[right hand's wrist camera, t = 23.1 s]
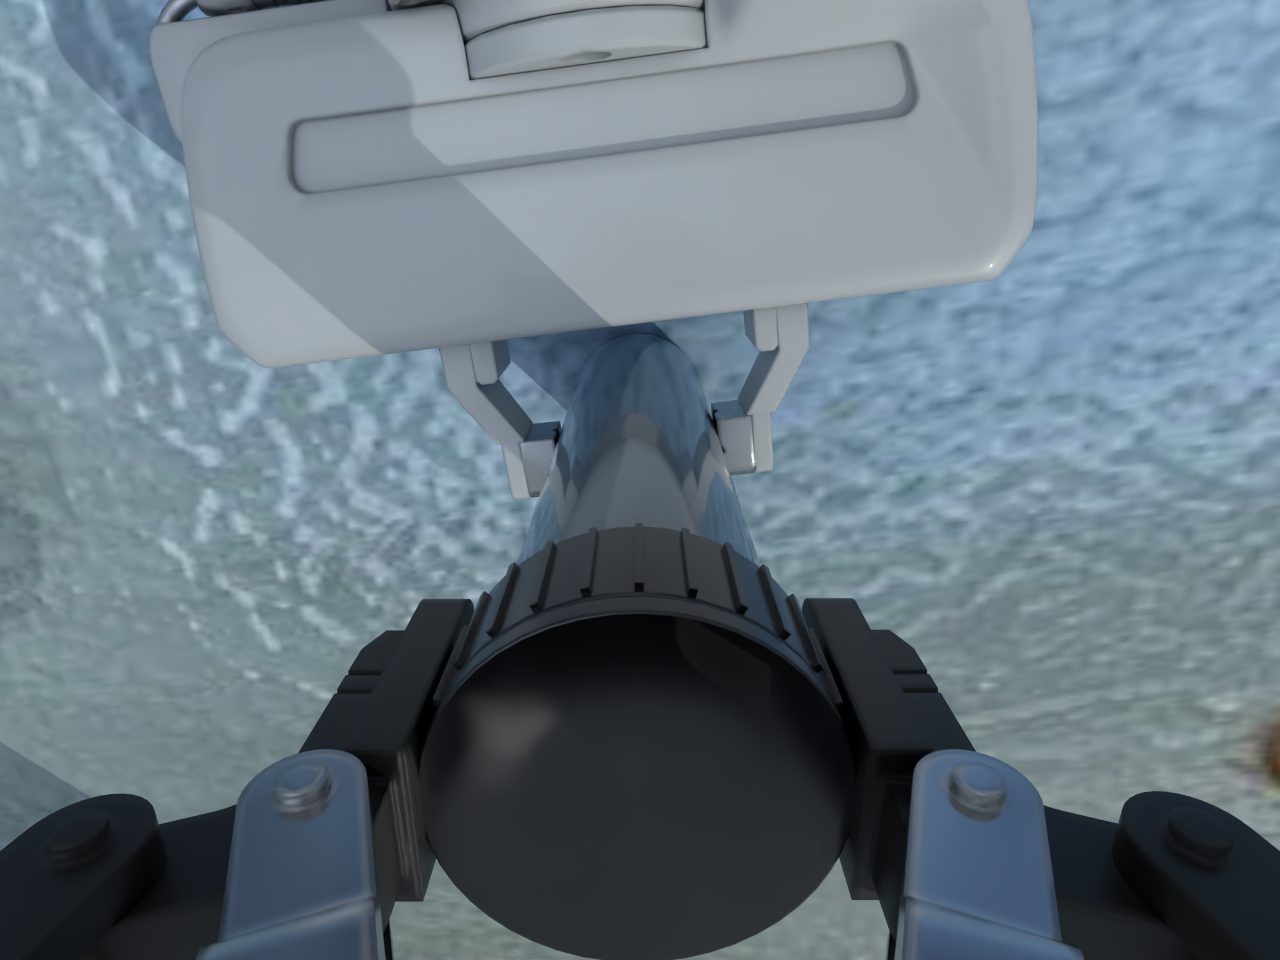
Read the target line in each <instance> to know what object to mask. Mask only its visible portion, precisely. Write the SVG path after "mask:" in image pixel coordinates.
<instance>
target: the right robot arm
mask: <svg viewBox="0 0 1280 960" xmlns="http://www.w3.org/2000/svg"><path fill="white" fill-rule="evenodd" d="M473 613H474V607H473V603H472V601H471V600H470V599H423V600H422V601H421V602H420V603H419V605H418V607H417V609H416V611H415V613H414V614H413V616H412V618H411V620H410V622H409V624H408V626H407V627H406V629H405V631H385V632H384V633H383V634H381V635H380V636H379V637H377V638H376V639H375V640H373V641H372V642H371V643H369V644H368V645H367V646H365V647H364V648H363V649H362V650H361V651H360V653H359V654H358V656H357V658H356V659H355V661H354V663H353V664H352V666H351V668H350V669H349V671H348V675H346V676H345V677H344V679H343V681H342V682H341V684H340V686H339V687H338V689H337V694H334V695H333V697H332V699H331V700H330V702H329V704H328V705H327V707H326V709H325V710H324V712H323V713H322V715H321V717H320V718H319V720H318V722H317V723H316V725H315V727H314V728H313V730H312V731H311V733H310V735H309V736H308V738H307V740H306V741H305V743H304V745H303V746H302V748H301V750H300V751H299V753H298V754H295V755H292V756H289V757H287V758H284V759H282V760H280V761H278V762H276V763H274V764H272V765H270V766H269V767H267V768H266V769H264V770H263V771H261V772H260V773H259V774H258V775H256V776H255V777H254V778H253V779H252V780H251V781H250V782H249V783H248V784H247V786H246V787H245V788H244V790H243V791H242V793H241V795H240V797H239V799H238V802H237V804H236V805H233V806H231V807H228V808H225V809H222V810H218V811H214V812H211V813H206V814H202V815H198V816H193V817H189V818H185V819H180V820H176V821H172V822H167V823H163V824H158V821H157V817H156V814H155V811H154V808H153V806H152V805H151V804H150V803H149V801H147V800H146V799H144V798H142V797H139V796H136V795H131V794H109V795H102V796H97V797H93V798H89V799H86V800H83V801H80V802H77V803H74V804H72V805H69V806H67V807H64V808H62V809H60V810H58V811H56V812H54V813H52V814H50V815H48V816H47V817H45V818H44V819H42V820H40V821H39V822H37V823H36V824H34V825H33V826H32V827H30V828H29V829H27V830H26V831H25V832H24V833H22V834H21V835H20V836H19V837H17V838H16V839H15V840H14V841H12V842H11V843H10V844H9V845H7V846H6V847H5V848H4V849H2V850H1V851H0V960H394V950H393V941H392V935H391V928H390V922H389V918H390V915H391V913H392V910H393V907H394V904H395V901H423V900H424V896H425V893H426V890H427V887H428V883H429V880H430V877H431V873H432V870H433V867H434V864H435V860H436V856H435V854H434V853H433V851H432V849H431V847H430V845H429V842H428V840H427V837H426V831H425V824H424V816H423V808H422V800H421V792H420V783H419V773H418V764H419V758H420V752H421V749H422V745H423V742H424V739H425V736H426V733H427V730H428V727H429V725H430V722H431V720H432V717H433V715H434V713H435V711H436V708H437V707H435V706H432V705H431V702H432V699H433V697H434V694H435V692H436V690H437V687H438V685H439V682H440V680H441V678H442V675H443V673H444V670H445V668H446V665H447V663H448V661H449V658H450V656H451V653H452V651H453V649H454V646H455V644H456V641H457V639H458V636H459V634H460V632H461V629H462V627H463V625H466V626H468V625H469V623H470V621H471V618H472V616H473ZM802 613H803V616H804V618H805V621H806V623H807V626H808V628H809V629H810V628H813V629H814V631H815V634H816V636H817V639H818V641H819V644H820V646H821V648H822V651H823V653H824V656H825V658H826V661H827V663H828V666H829V668H830V671H831V673H832V676H833V678H834V681H835V683H836V686H837V688H838V691H839V693H840V696H841V698H842V701H843V703H844V706H845V708H844V709H841V710H839V711H840V714H841V717H842V720H843V722H844V724H845V727H846V730H847V732H848V735H849V737H850V741H851V745H852V749H853V752H854V756H855V760H856V785H855V794H854V802H853V810H852V818H851V826H850V833H849V836H848V838H847V841H846V843H845V845H844V848H843V850H842V852H841V854H840V856H839V859H840V862H841V865H842V869H843V872H844V875H845V879H846V882H847V885H848V889H849V892H850V895H851V899H852V900H879V901H880V904H881V907H882V910H883V913H884V916H885V919H886V922H887V925H888V928H889V935H888V941H887V950H886V960H1280V851H1279V850H1278V849H1276V848H1275V847H1274V846H1273V845H1271V844H1270V843H1269V842H1268V841H1266V840H1265V839H1264V838H1263V837H1261V836H1260V835H1259V834H1258V833H1256V832H1255V831H1254V830H1253V829H1251V828H1250V827H1249V826H1247V825H1246V824H1245V823H1243V822H1242V821H1241V820H1239V819H1237V818H1236V817H1234V816H1233V815H1231V814H1229V813H1228V812H1226V811H1224V810H1222V809H1220V808H1218V807H1216V806H1214V805H1211V804H1209V803H1207V802H1204V801H1202V800H1199V799H1196V798H1193V797H1190V796H1186V795H1181V794H1177V793H1171V792H1161V791H1152V792H1143V793H1140V794H1136V795H1134V796H1133V797H1131V798H1129V799H1128V800H1127V801H1126V802H1125V804H1124V806H1123V809H1122V812H1121V816H1120V819H1119V823H1118V824H1117V823H1113V822H1109V821H1104V820H1100V819H1096V818H1091V817H1087V816H1083V815H1078V814H1074V813H1070V812H1065V811H1061V810H1057V809H1054V808H1050V807H1047V806H1044V805H1043V802H1042V799H1041V797H1040V795H1039V793H1038V791H1037V790H1036V788H1035V787H1034V786H1033V784H1032V783H1031V782H1030V781H1029V780H1028V779H1027V778H1026V777H1025V776H1024V775H1022V774H1021V773H1020V772H1019V771H1017V770H1016V769H1014V768H1013V767H1011V766H1010V765H1008V764H1006V763H1004V762H1002V761H1000V760H998V759H996V758H993V757H991V756H988V755H985V754H982V753H978V752H976V751H975V749H974V747H973V746H972V744H971V743H970V741H969V739H968V738H967V736H966V734H965V733H964V731H963V729H962V728H961V726H960V724H959V723H958V721H957V719H956V718H955V716H954V714H953V713H952V711H951V709H950V708H949V706H948V704H947V703H946V701H945V699H944V698H943V696H942V694H941V693H938V688H937V686H936V684H935V683H934V681H933V679H932V678H931V676H930V674H927V669H926V668H925V666H924V664H923V663H922V661H921V659H920V658H919V656H918V654H917V653H916V651H915V649H914V648H913V647H911V646H910V645H909V644H907V643H906V642H905V641H903V640H902V639H901V638H899V637H898V636H897V635H895V634H894V633H893V632H891V631H890V630H871V629H870V627H869V626H868V624H867V622H866V620H865V618H864V616H863V614H862V612H861V610H860V608H859V607H858V605H857V603H856V601H855V600H854V599H852V598H806V599H805V600H804V603H803V607H802Z"/></svg>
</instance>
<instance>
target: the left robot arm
mask: <svg viewBox="0 0 1280 960" xmlns="http://www.w3.org/2000/svg"><path fill="white" fill-rule="evenodd" d="M280 6H282V7H280ZM197 7H199V8H200V10H201V11H202V12H203V13H204V14H205V15H207V16H211V17H207V18H200V19H193V20H186V21H182V20H183V19H184V17H185V16H186V15H187V14H188V13H189V12H190V11H192V10H193V9H195V8H197ZM150 54H151V61H152V65H153V69H154V72H155V75H156V79H157V82H158V85H159V89H160V92H161V95H162V98H163V102H164V105H165V108H166V112H167V115H168V118H169V121H170V124H171V126H172V128H173V130H174V132H175V134H176V136H177V138H178V139H179V140H180V142H181V143H182V145H183V154H184V162H185V170H186V177H187V184H188V191H189V198H190V205H191V212H192V217H193V222H194V228H195V233H196V239H197V244H198V249H199V254H200V259H201V263H202V268H203V272H204V277H205V281H206V285H207V289H208V294H209V298H210V302H211V306H212V309H213V312H214V316H215V319H216V322H217V324H218V327H219V329H220V331H221V333H222V334H223V335H224V337H225V338H227V339H228V340H229V341H230V342H231V343H232V344H233V345H234V346H236V347H237V348H238V349H239V350H240V351H241V352H242V353H244V354H245V355H246V356H247V357H248V358H250V359H251V360H252V361H253V362H255V363H256V364H257V365H259V366H261V367H264V368H276V367H285V366H293V365H302V364H310V363H318V362H326V361H334V360H343V359H351V358H359V357H367V356H376V355H384V354H392V353H400V352H408V351H417V350H425V349H433V348H439V351H440V356H441V360H442V365H443V370H444V375H445V379H446V384H447V389H448V391H449V392H450V393H451V394H452V395H453V396H454V397H455V398H456V400H457V401H458V402H459V403H460V404H461V405H462V406H463V407H464V409H465V410H466V411H467V412H468V413H469V414H470V415H471V416H472V417H473V419H474V420H475V421H476V422H477V423H478V424H479V425H480V426H481V428H482V429H483V430H484V431H485V432H486V433H487V434H488V435H489V437H490V438H491V439H492V440H493V441H494V442H495V443H496V444H501V446H502V451H503V456H504V461H505V466H506V471H507V476H508V481H509V486H510V492H511V495H512V497H513V498H514V500H516V499H530V498H532V497H539V495H540V492H541V489H542V486H543V483H544V480H545V477H546V474H547V471H548V468H549V465H550V462H551V459H552V457H553V454H554V451H555V448H556V445H557V442H558V439H559V436H560V433H561V425H560V421H556V422H546V423H535V424H532V423H533V422H532V421H531V420H530V418H529V417H528V416H527V415H526V413H525V412H524V411H523V409H522V408H521V407H520V406H519V404H518V403H517V402H516V401H515V399H514V398H513V397H512V396H511V394H510V393H509V392H508V390H507V389H506V388H505V387H504V385H503V384H502V383H501V382H500V380H499V377H500V376H501V375H502V373H503V372H504V371H505V369H506V368H507V367H508V365H509V364H510V363H511V362H510V356H509V350H508V344H507V339H515V338H523V337H532V336H540V335H548V334H556V333H565V332H573V331H581V330H589V329H597V328H606V327H614V326H622V325H630V324H639V323H647V322H655V321H663V320H671V319H680V318H688V317H696V316H704V315H713V314H721V313H729V312H737V311H744V322H745V333H746V335H747V337H748V338H749V339H750V341H751V342H752V343H753V345H754V346H755V347H756V348H757V349H758V350H759V351H760V352H759V354H758V356H757V359H756V361H755V363H754V365H753V367H752V369H751V371H750V374H749V376H748V378H747V380H746V382H745V384H744V387H743V389H742V391H741V393H740V395H739V397H738V398H739V400H732V401H725V402H718V403H711V410H712V420H713V423H714V426H715V429H716V432H717V435H718V438H719V441H720V444H721V447H722V450H723V453H724V457H725V460H726V463H727V466H728V469H729V472H730V475H739V474H748V473H754V472H755V473H757V472H766V471H772V469H773V450H772V434H771V418H770V413H773V412H775V411H776V409H777V407H778V405H779V403H780V402H781V400H782V398H783V396H784V394H785V392H786V390H787V388H788V386H789V384H790V383H791V381H792V379H793V377H794V375H795V373H796V371H797V369H798V367H799V365H800V364H801V362H802V360H803V358H804V356H805V354H806V352H807V350H808V348H809V329H808V303H811V302H819V301H828V300H836V299H844V298H852V297H860V296H869V295H877V294H885V293H893V292H902V291H910V290H918V289H926V288H934V287H943V286H951V285H959V284H967V283H975V282H983V281H990V280H993V279H995V278H997V277H998V276H1000V275H1001V274H1002V272H1003V271H1004V270H1005V269H1006V268H1007V267H1008V265H1009V264H1010V263H1011V261H1012V260H1013V259H1014V257H1015V256H1016V254H1017V253H1018V252H1019V250H1020V249H1021V247H1022V246H1023V244H1024V243H1025V242H1026V240H1027V239H1028V237H1029V235H1030V233H1031V231H1032V228H1033V223H1034V218H1035V211H1036V200H1037V180H1038V99H1037V76H1036V61H1035V47H1034V36H1033V25H1032V18H1031V12H1030V6H1029V1H1028V0H169V1H168V2H167V4H166V5H165V7H164V8H163V9H162V11H161V13H160V16H159V18H158V20H157V24H156V27H155V28H153V30H152V32H151V34H150Z"/></svg>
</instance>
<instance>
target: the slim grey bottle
mask: <svg viewBox="0 0 1280 960" xmlns="http://www.w3.org/2000/svg"><path fill="white" fill-rule="evenodd" d="M635 523H643V526H644V527H656V528H668V529H672V530H677V531H681V529H682V527H683V528H687V529H689V530H690V533H692V534H695V535H698V536H701V537H704V538H707V539H710V540H713V541H716V542H718V543H720V544H722V545H724V543H725V542H728V543H730V544H732V546H733V550H734V551H736V552H738V553H740V554H741V555H743V556H744V557H746V558H747V559H749V560H750V561H752V562H753V563H755V564H756V565H758V566H759V567H761V566H760V563H759V560H758V557H757V554H756V551H755V548H754V545H753V542H752V539H751V536H750V533H749V530H748V527H747V524H746V521H745V518H744V514H743V511H742V508H741V505H740V502H739V499H738V496H737V493H736V490H735V487H734V484H733V481H732V478H731V475H730V472H729V469H728V466H727V463H726V460H725V457H724V453H723V450H722V447H721V444H720V441H719V438H718V435H717V432H716V429H715V426H714V423H713V420H712V417H711V414H710V411H709V408H708V405H707V402H706V399H705V396H704V392H703V389H702V386H701V383H700V380H699V377H698V374H697V372H696V370H695V367H694V366H693V364H692V362H691V361H690V359H689V358H688V357H687V355H686V354H685V353H684V352H683V351H682V350H681V349H680V348H678V347H677V346H676V345H674V344H673V343H671V342H669V341H667V340H666V339H663V338H660V337H658V336H654V335H650V334H629V335H623V336H620V337H617V338H615V339H612V340H610V341H608V342H607V343H605V344H603V345H602V346H601V347H599V348H598V349H597V350H596V351H595V352H594V353H593V354H592V355H591V356H590V357H589V359H588V360H587V362H586V363H585V365H584V367H583V369H582V371H581V374H580V376H579V379H578V382H577V385H576V388H575V391H574V394H573V397H572V400H571V403H570V406H569V409H568V412H567V415H566V418H565V421H564V424H563V427H562V430H561V433H560V436H559V439H558V442H557V445H556V448H555V451H554V454H553V457H552V459H551V462H550V465H549V468H548V471H547V474H546V477H545V480H544V483H543V486H542V489H541V492H540V495H539V498H538V501H537V504H536V507H535V510H534V513H533V516H532V519H531V522H530V525H529V528H528V531H527V534H526V537H525V540H524V543H523V546H522V549H521V552H520V555H519V558H518V561H517V565H519V564H520V563H522V562H523V561H524V560H526V559H528V558H529V557H531V556H533V555H534V554H536V553H538V552H539V551H541V550H543V549H544V548H545V545H546V543H547V542H549V541H552V540H553V541H554V543H555V544H556V543H558V542H560V541H563V540H565V539H567V538H571V537H574V536H578V535H581V534H584V533H588V532H589V528H592V527H597V530H603V529H610V528H616V527H635Z"/></svg>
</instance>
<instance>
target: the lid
mask: <svg viewBox="0 0 1280 960" xmlns="http://www.w3.org/2000/svg"><path fill="white" fill-rule="evenodd" d="M431 705H432V706H435V707H437V708H436V711H435V713H434V715H433V717H432V720H431V722H430V725H429V727H428V730H427V733H426V736H425V739H424V742H423V745H422V749H421V752H420V758H419V764H418V773H419V783H420V792H421V800H422V808H423V816H424V824H425V831H426V837H427V840H428V842H429V845H430V847H431V849H432V851H433V853H434V854H435V856H436V858H437V860H438V862H439V864H440V866H441V867H442V868H443V870H444V871H445V872H446V874H447V875H448V877H449V878H450V879H451V881H452V882H453V883H454V885H455V886H456V887H457V888H458V889H459V890H460V891H461V892H462V893H463V894H464V895H465V896H466V897H467V898H468V899H469V900H470V901H471V902H472V903H473V904H474V905H476V906H477V907H478V908H479V909H480V910H482V911H483V912H484V913H485V914H486V915H488V916H489V917H490V918H492V919H494V920H495V921H497V922H498V923H500V924H501V925H503V926H504V927H506V928H508V929H509V930H511V931H513V932H515V933H517V934H519V935H521V936H523V937H525V938H527V939H529V940H531V941H533V942H536V943H539V944H541V945H544V946H547V947H549V948H552V949H555V950H558V951H562V952H566V953H570V954H573V955H577V956H581V957H587V958H593V959H600V960H675V959H683V958H688V957H693V956H697V955H702V954H706V953H710V952H713V951H716V950H719V949H722V948H725V947H728V946H731V945H734V944H736V943H739V942H741V941H743V940H745V939H748V938H750V937H752V936H754V935H756V934H758V933H760V932H762V931H763V930H765V929H767V928H769V927H770V926H772V925H774V924H775V923H777V922H779V921H780V920H781V919H783V918H784V917H785V916H787V915H788V914H789V913H791V912H792V911H793V910H795V909H796V908H797V907H798V906H800V905H801V904H802V903H803V902H804V901H805V900H806V899H807V898H808V897H809V896H810V895H811V894H812V893H813V892H814V891H815V890H816V889H817V888H818V886H819V885H820V884H821V883H822V881H823V880H824V879H825V878H826V876H827V875H828V874H829V872H830V871H831V869H832V868H833V866H834V864H835V863H836V861H837V859H838V858H839V856H840V854H841V852H842V850H843V848H844V845H845V843H846V841H847V838H848V836H849V833H850V826H851V818H852V810H853V802H854V794H855V785H856V760H855V756H854V752H853V749H852V745H851V741H850V737H849V735H848V732H847V730H846V727H845V724H844V722H843V720H842V717H841V714H840V711H839V710H841V709H844V708H845V706H844V703H843V701H842V698H841V696H840V693H839V691H838V688H837V686H836V683H835V681H834V678H833V676H832V673H831V671H830V668H829V666H828V663H827V661H826V658H825V656H824V653H823V651H822V648H821V646H820V644H819V641H818V639H817V636H816V634H815V631H814V629H813V628H810V629H809V628H808V626H807V623H806V621H805V618H804V616H803V613H802V611H801V608H800V605H799V603H798V600H797V598H796V597H795V595H794V594H791V595H790V596H788V595H787V594H786V593H785V592H784V590H783V589H782V588H781V587H780V586H779V585H778V583H777V582H776V581H775V580H774V579H773V578H772V577H771V574H770V571H769V568H768V567H766V566H765V565H764V564H763V565H762V566H761V567H759V566H758V565H756V564H755V563H753V562H752V561H750V560H749V559H747V558H746V557H744V556H743V555H741V554H740V553H738V552H736V551H734V550H733V546H732V544H730V543H728V542H725V543H724V545H722V544H720V543H718V542H716V541H713V540H710V539H707V538H704V537H701V536H698V535H695V534H692V533H690V530H689V529H687V528H683V527H682V529H681V531H677V530H672V529H668V528H656V527H644V526H643V523H635V527H616V528H610V529H603V530H597V527H592V528H589V532H588V533H584V534H581V535H578V536H574V537H571V538H567V539H565V540H563V541H560V542H558V543H556V544H555V543H554V541H553V540H552V541H549V542H547V543H546V545H545V548H544V549H543V550H541V551H539V552H538V553H536V554H534V555H533V556H531V557H529V558H528V559H526V560H524V561H523V562H522V563H520V564H519V565H517V564H516V563H515V562H514V563H513V564H511V565H510V566H509V568H508V571H507V573H506V576H505V577H504V578H503V579H502V580H501V581H500V582H499V583H498V584H497V585H496V586H495V587H494V588H493V589H492V590H491V591H490V593H489V594H488V593H487V592H485V591H484V592H483V593H482V595H481V596H480V598H479V601H478V603H477V606H476V608H475V611H474V613H473V616H472V618H471V621H470V623H469V625H468V626H466V625H463V627H462V629H461V632H460V634H459V636H458V639H457V641H456V644H455V646H454V649H453V651H452V653H451V656H450V658H449V661H448V663H447V665H446V668H445V670H444V673H443V675H442V678H441V680H440V682H439V685H438V687H437V690H436V692H435V694H434V697H433V699H432V702H431Z"/></svg>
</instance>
